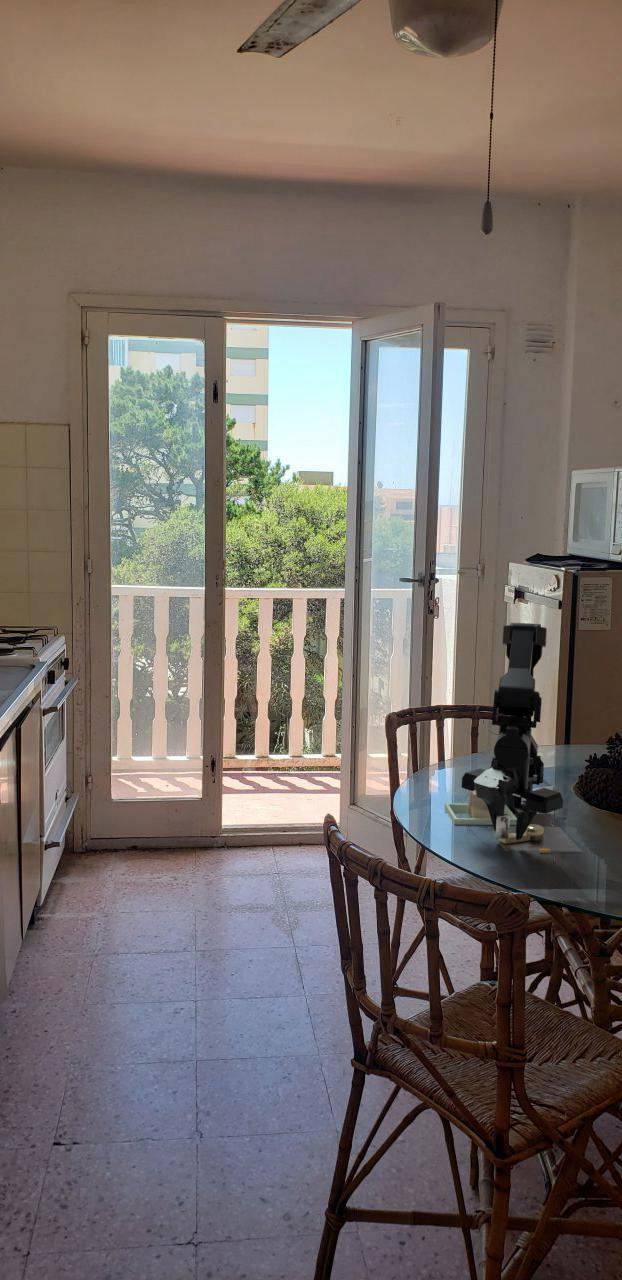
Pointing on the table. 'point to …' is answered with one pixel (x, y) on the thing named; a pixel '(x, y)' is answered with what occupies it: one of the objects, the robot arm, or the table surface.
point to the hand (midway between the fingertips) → (507, 835)
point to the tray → (473, 821)
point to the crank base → (542, 842)
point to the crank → (502, 833)
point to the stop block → (477, 806)
